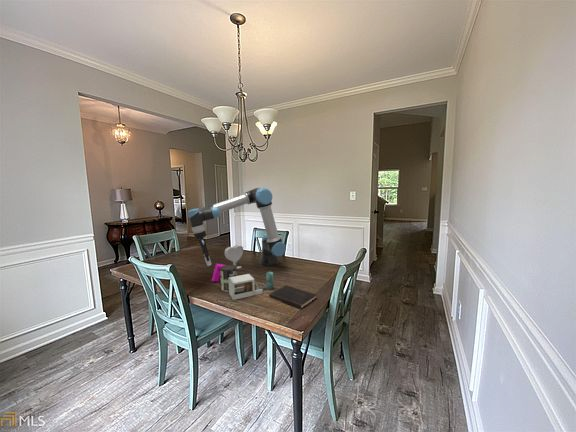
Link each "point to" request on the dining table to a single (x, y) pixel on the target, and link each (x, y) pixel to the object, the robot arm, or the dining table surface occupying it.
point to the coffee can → (227, 276)
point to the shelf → (239, 280)
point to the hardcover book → (293, 296)
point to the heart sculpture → (234, 254)
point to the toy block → (217, 272)
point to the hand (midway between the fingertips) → (208, 263)
